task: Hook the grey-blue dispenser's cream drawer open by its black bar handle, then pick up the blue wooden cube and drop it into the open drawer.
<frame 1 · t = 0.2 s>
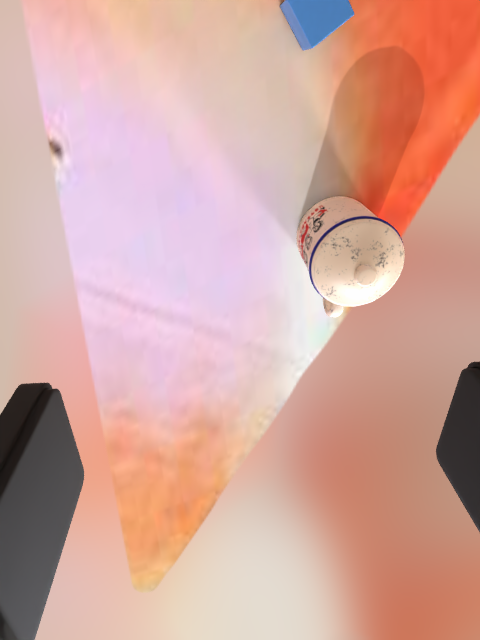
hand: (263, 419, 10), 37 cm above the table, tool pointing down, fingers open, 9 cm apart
teacup with lid: (330, 245, 48), on the table
blue wooden cube: (310, 12, 36), on the table
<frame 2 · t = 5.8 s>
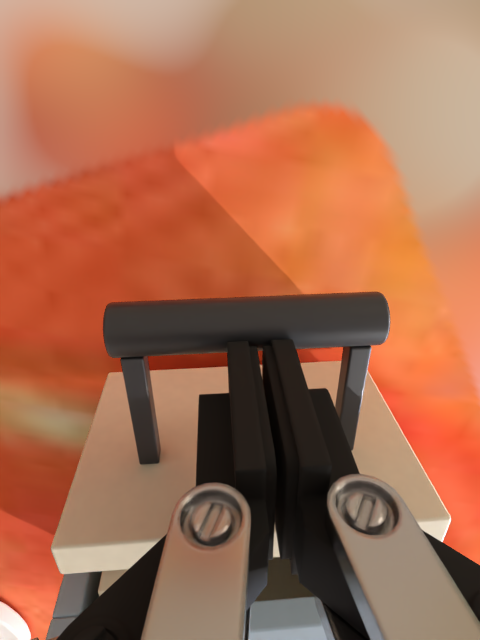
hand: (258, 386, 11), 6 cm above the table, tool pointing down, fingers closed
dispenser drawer: (245, 500, 16), point 5 cm above the table, slide at 1.8 cm, touching gripper
dispenser: (238, 501, 23), on the table
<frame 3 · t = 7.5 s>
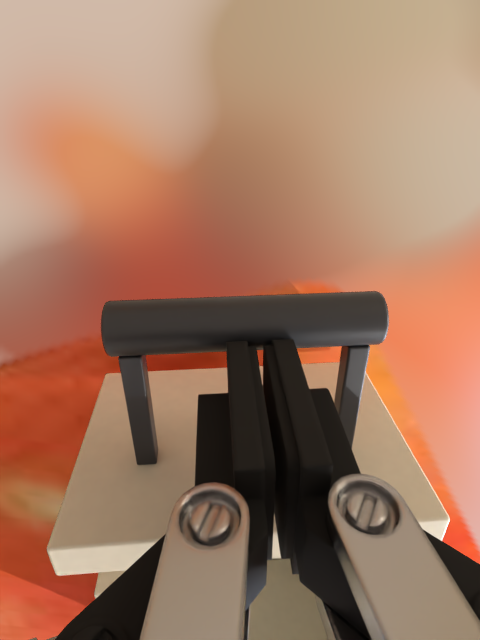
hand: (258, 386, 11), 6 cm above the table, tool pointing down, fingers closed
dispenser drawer: (242, 502, 15), point 5 cm above the table, slide at 8.0 cm, touching gripper
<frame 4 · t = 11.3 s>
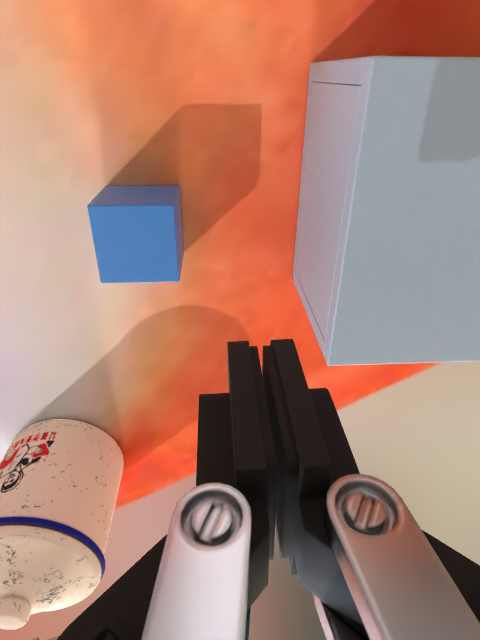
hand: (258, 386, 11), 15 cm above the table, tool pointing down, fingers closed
teacup with lid: (60, 463, 34), on the table
blue wooden cube: (146, 221, 24), on the table
dispenser: (418, 184, 24), on the table
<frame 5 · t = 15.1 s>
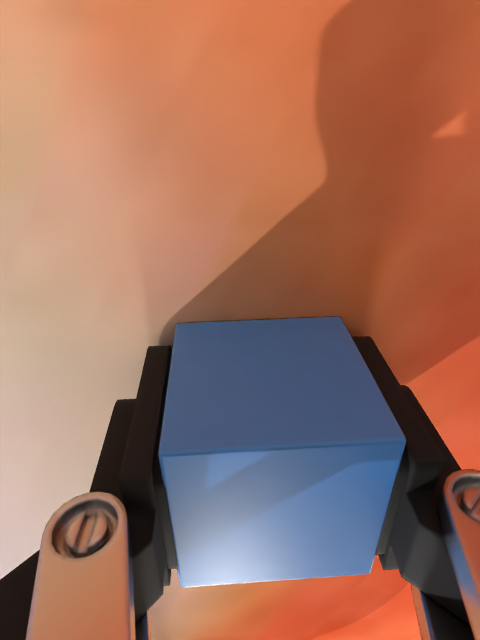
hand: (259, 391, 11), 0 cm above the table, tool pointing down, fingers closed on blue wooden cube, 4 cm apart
blue wooden cube: (258, 383, 11), on the table, touching gripper
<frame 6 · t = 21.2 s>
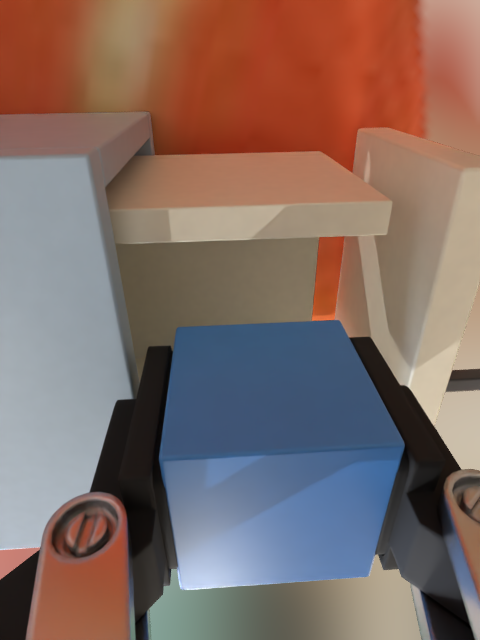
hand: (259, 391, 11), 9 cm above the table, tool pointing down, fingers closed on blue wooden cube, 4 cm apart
blue wooden cube: (258, 386, 11), point 8 cm above the table, touching gripper
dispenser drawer: (301, 305, 14), point 5 cm above the table, slide at 7.4 cm
dispenser: (6, 265, 18), on the table
when the fingers open (11 cm above the table, at t = 28.6 s): blue wooden cube drops 8 cm, resting on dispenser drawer.
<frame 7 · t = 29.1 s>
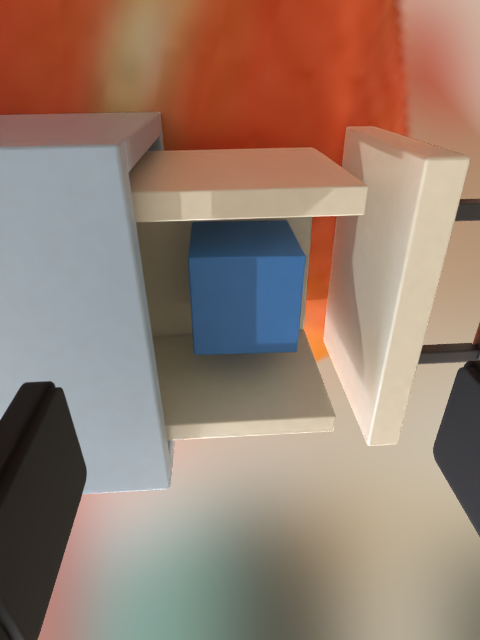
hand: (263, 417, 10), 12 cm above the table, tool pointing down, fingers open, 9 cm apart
blue wooden cube: (239, 264, 18), point 2 cm above the table, touching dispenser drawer
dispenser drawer: (295, 284, 16), point 5 cm above the table, slide at 7.4 cm, touching blue wooden cube
dispenser: (28, 252, 19), on the table
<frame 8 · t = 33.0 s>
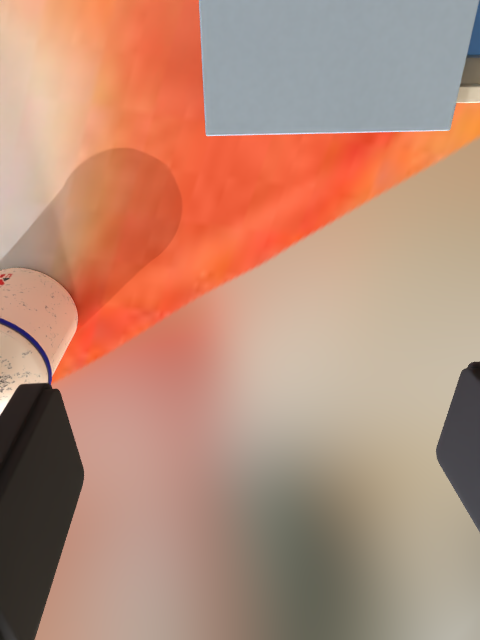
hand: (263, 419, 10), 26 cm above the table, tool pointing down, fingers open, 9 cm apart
teacup with lid: (22, 319, 38), on the table
blue wooden cube: (462, 20, 26), point 2 cm above the table, touching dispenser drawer
dispenser: (304, 21, 28), on the table
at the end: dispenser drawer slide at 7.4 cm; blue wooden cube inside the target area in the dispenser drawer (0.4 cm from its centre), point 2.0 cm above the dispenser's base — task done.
